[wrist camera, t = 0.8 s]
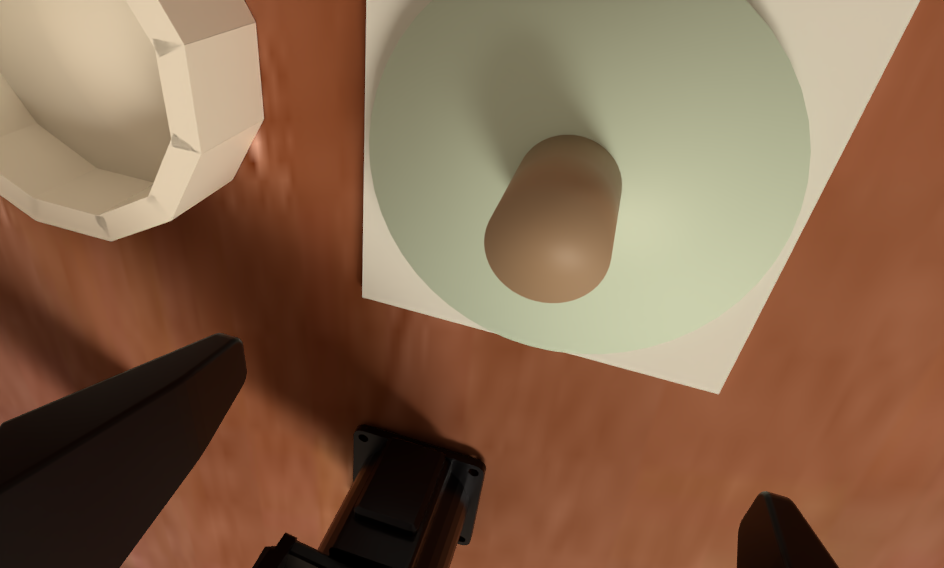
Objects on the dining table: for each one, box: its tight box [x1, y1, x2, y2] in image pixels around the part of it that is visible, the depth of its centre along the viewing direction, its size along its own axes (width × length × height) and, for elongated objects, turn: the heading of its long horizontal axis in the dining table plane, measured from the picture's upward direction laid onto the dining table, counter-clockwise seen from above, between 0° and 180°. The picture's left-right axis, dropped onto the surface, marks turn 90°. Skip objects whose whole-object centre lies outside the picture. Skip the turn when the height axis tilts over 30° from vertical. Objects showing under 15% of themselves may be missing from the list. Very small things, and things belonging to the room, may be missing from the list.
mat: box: [362, 0, 920, 394], centre depth 19 cm, size 14×14×1 cm
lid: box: [369, 0, 811, 354], centre depth 17 cm, size 13×13×5 cm
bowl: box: [0, 0, 264, 242], centre depth 20 cm, size 12×12×4 cm
